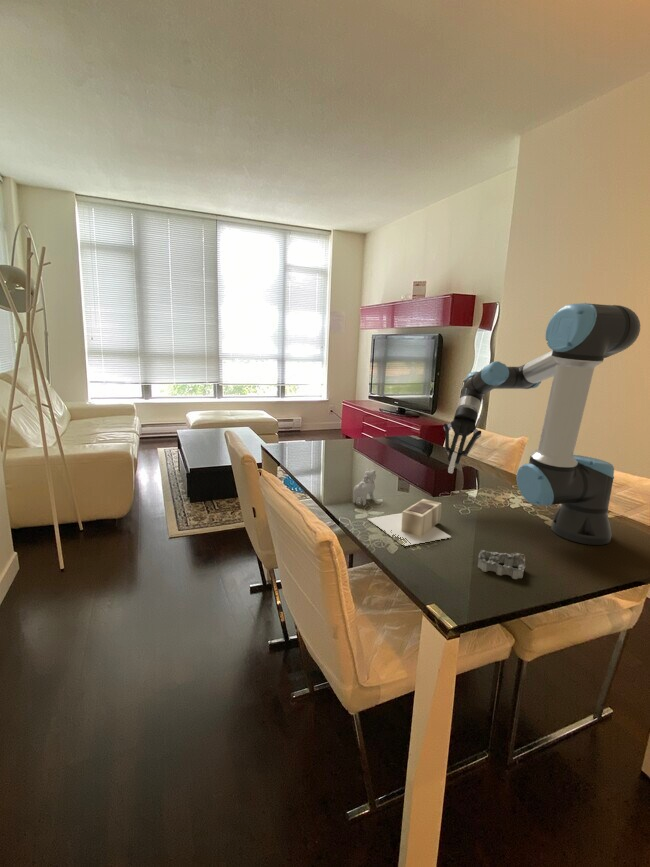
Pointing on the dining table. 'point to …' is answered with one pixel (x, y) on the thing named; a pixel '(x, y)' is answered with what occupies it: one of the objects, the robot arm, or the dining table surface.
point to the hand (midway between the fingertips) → (450, 471)
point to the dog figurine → (365, 486)
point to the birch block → (421, 517)
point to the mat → (395, 525)
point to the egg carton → (505, 558)
